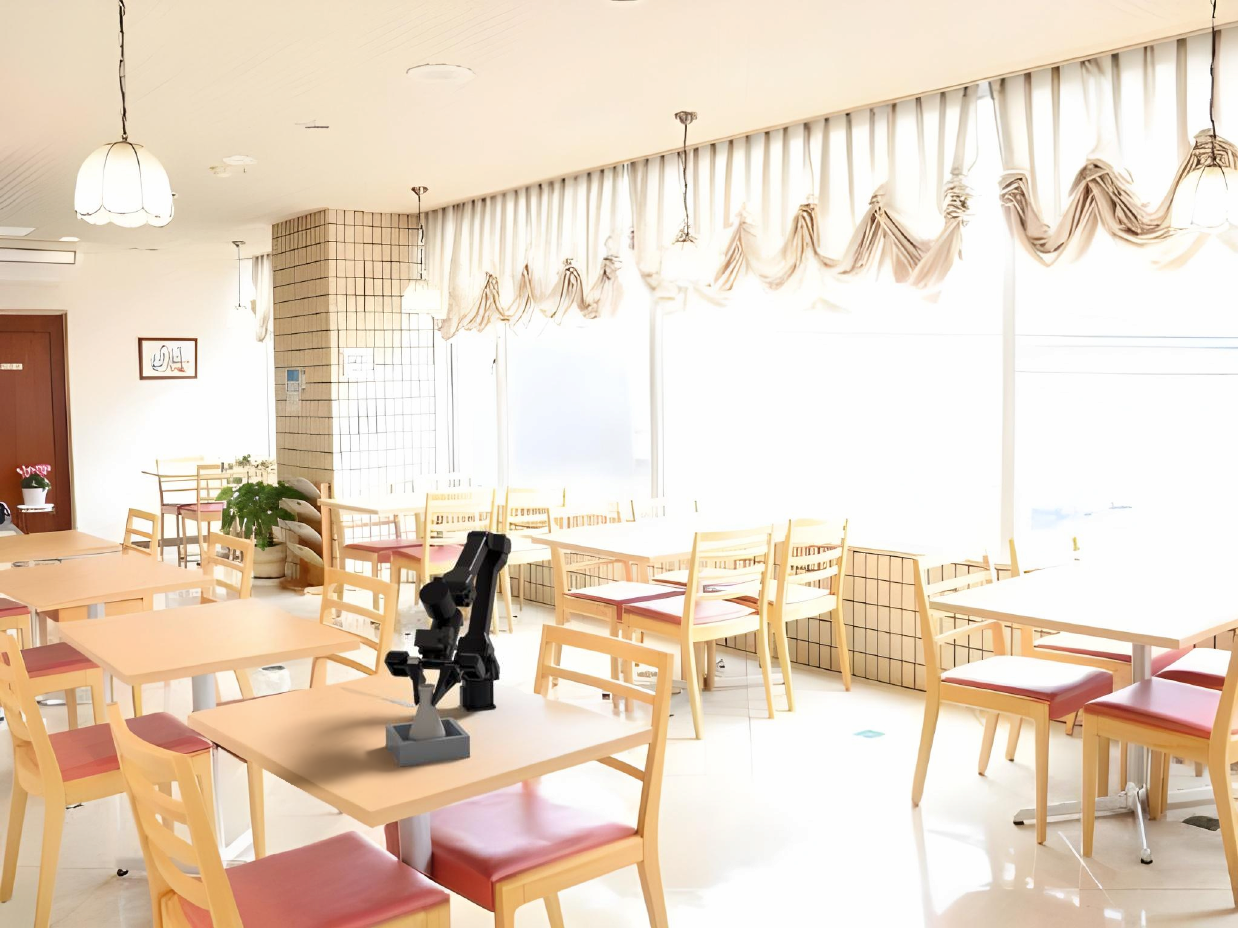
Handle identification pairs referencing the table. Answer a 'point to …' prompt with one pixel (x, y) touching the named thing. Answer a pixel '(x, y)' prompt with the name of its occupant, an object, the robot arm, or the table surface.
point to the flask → (426, 717)
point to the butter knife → (400, 702)
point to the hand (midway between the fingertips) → (424, 704)
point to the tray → (427, 744)
